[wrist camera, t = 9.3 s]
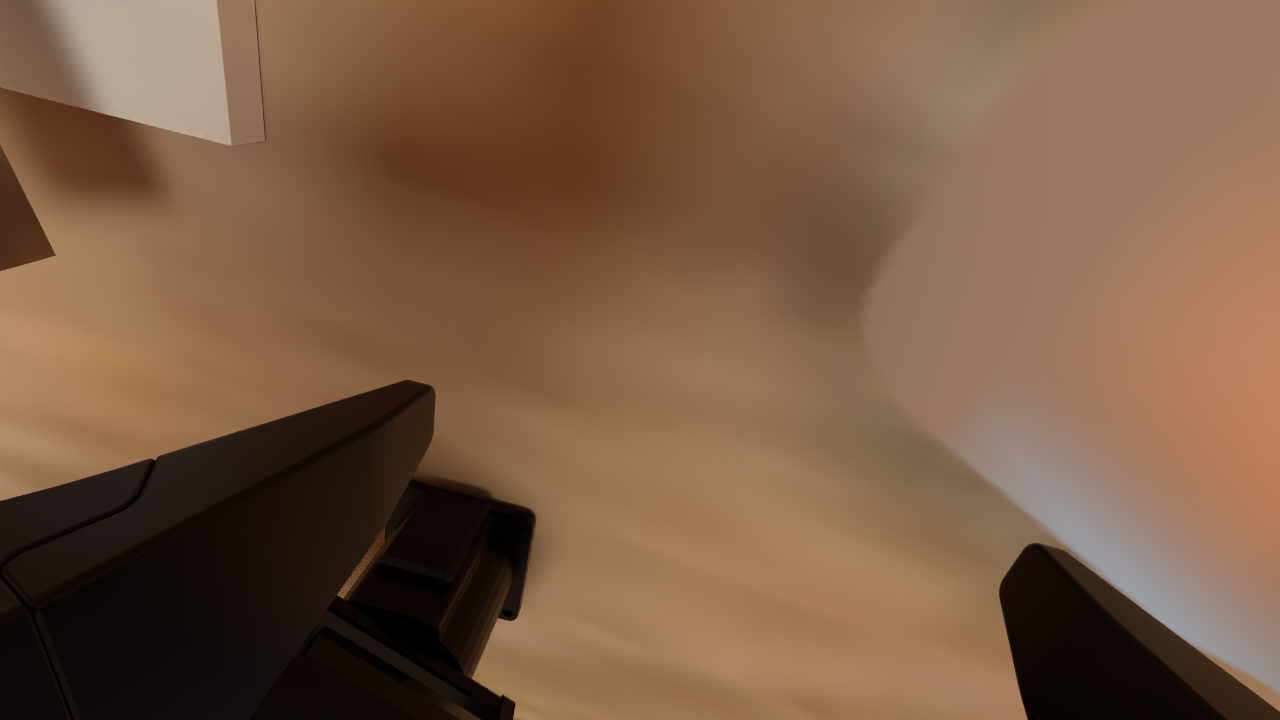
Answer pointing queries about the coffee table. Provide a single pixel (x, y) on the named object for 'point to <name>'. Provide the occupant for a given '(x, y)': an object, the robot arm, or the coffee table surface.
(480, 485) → the coffee table surface
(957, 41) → the coffee table surface
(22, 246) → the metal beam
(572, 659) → the coffee table surface
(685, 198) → the coffee table surface
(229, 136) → the fulcrum
